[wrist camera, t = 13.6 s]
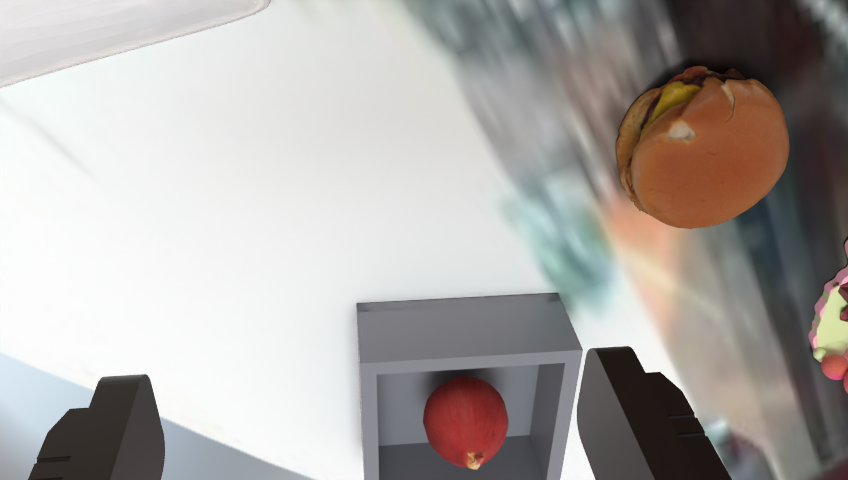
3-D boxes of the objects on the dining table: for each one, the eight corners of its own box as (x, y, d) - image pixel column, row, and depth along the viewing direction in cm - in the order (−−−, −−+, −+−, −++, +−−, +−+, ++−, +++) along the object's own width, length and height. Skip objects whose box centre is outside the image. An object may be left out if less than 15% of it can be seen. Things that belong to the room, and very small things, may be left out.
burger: (708, 220, 50) (741, 259, 46) (586, 184, 47) (609, 222, 43) (795, 85, 45) (840, 116, 41) (664, 36, 43) (699, 63, 39)
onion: (502, 400, 55) (526, 487, 49) (427, 418, 55) (441, 508, 49) (489, 343, 52) (513, 428, 45) (410, 362, 52) (422, 450, 46)
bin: (557, 293, 52) (582, 350, 47) (537, 433, 59) (557, 495, 54) (356, 303, 50) (359, 363, 45) (362, 446, 58) (365, 511, 53)
